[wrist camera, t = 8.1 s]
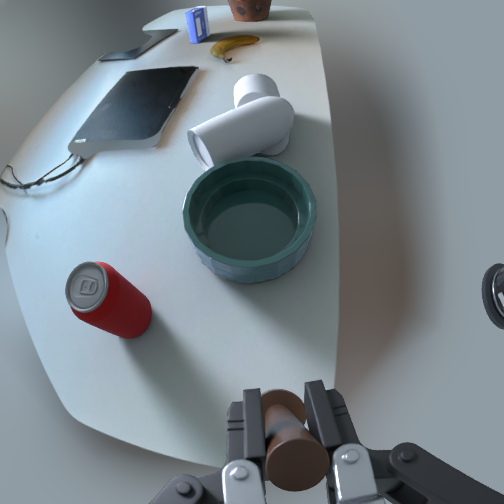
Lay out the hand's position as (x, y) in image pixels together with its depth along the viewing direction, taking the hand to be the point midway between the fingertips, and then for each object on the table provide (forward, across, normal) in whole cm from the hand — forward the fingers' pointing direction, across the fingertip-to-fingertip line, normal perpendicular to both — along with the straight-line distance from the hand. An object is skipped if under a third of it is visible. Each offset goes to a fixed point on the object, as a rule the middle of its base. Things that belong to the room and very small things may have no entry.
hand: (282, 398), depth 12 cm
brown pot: (+98, -9, -66) cm, 118 cm away
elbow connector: (+44, 0, -12) cm, 46 cm away
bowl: (+31, 0, +1) cm, 31 cm away
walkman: (+83, +9, -51) cm, 98 cm away
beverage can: (+23, +18, +8) cm, 30 cm away
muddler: (+7, 0, +10) cm, 12 cm away
